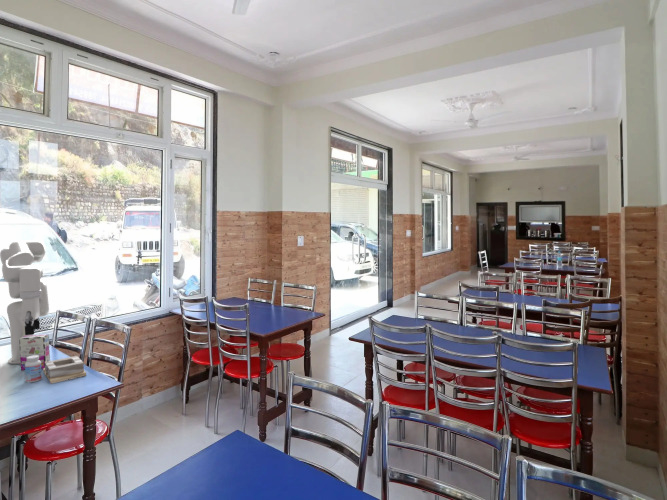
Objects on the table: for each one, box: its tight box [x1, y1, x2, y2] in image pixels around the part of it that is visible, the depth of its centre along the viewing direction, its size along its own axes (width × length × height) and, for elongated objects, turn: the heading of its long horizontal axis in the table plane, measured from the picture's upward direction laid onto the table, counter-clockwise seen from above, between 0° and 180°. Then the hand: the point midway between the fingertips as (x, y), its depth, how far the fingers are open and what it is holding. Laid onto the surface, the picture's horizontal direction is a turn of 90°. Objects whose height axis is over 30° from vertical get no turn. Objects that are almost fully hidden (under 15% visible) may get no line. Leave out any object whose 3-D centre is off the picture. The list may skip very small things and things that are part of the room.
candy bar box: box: [19, 334, 51, 371], centre depth 196 cm, size 11×5×16 cm, turn 102°
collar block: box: [42, 355, 87, 385], centre depth 190 cm, size 20×14×6 cm
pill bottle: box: [24, 355, 43, 383], centre depth 182 cm, size 6×6×11 cm
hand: (32, 331), depth 178 cm, fingers open, 9 cm apart
